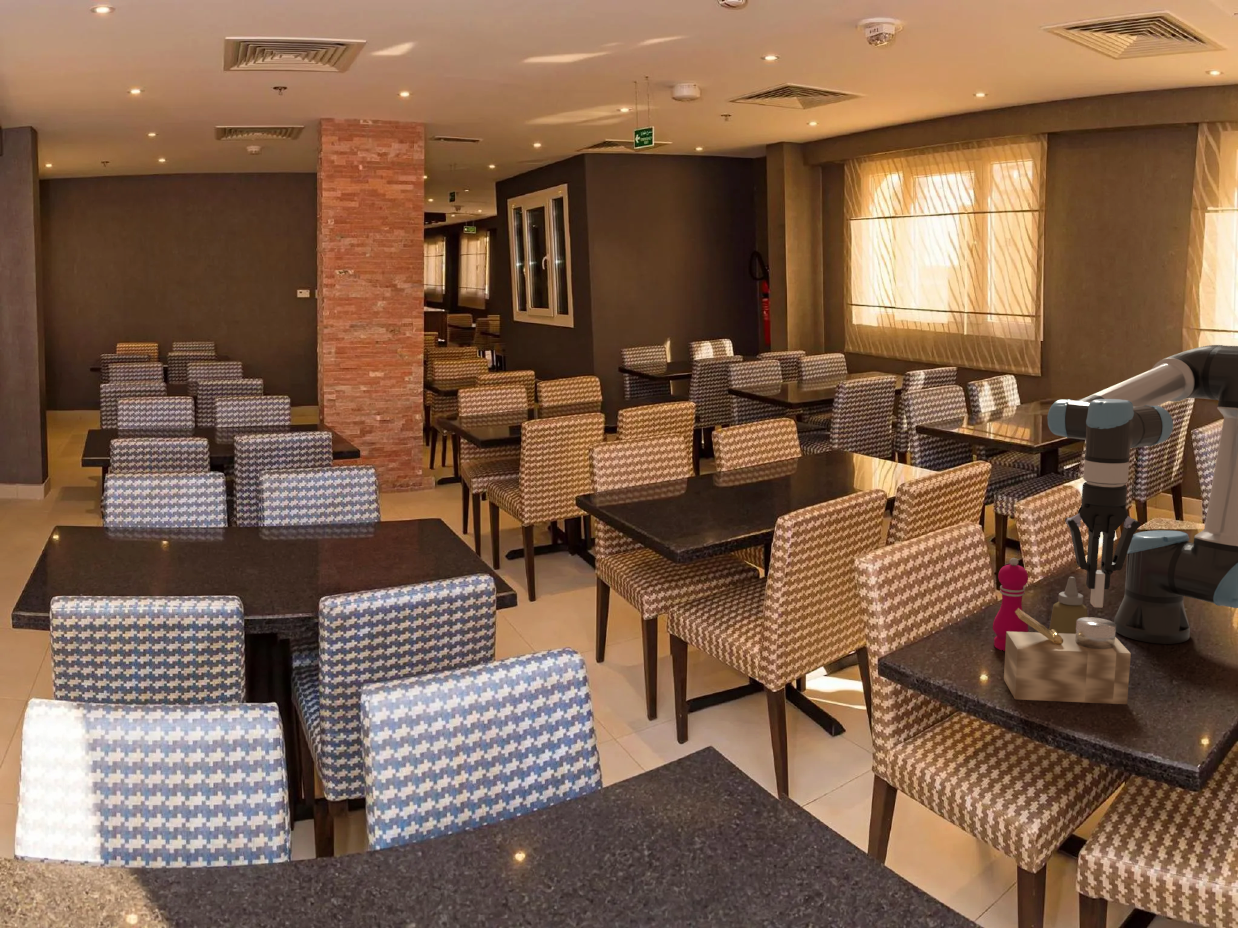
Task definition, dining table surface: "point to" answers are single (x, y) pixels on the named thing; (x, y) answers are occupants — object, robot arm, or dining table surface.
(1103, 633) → the silver capsule
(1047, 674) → the maple block
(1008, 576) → the pepper mill
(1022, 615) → the brass latch
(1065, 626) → the squeeze bottle
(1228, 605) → the robot arm
